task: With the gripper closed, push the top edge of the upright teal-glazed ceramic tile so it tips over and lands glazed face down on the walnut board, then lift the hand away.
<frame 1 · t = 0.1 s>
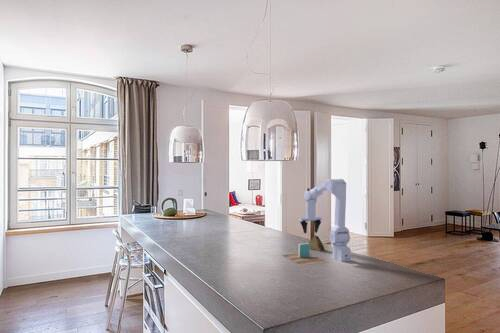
hand: (310, 232, 203), 10 cm above the worktop, tool pointing down, fingers open, 7 cm apart
rock: (315, 251, 199), on the worktop
board: (303, 260, 177), on the worktop
tile: (303, 256, 181), point 1 cm above the worktop, touching board
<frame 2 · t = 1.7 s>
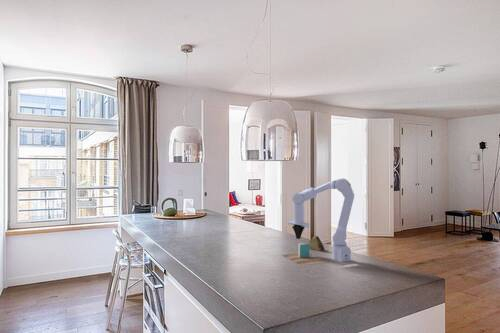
hand: (298, 238, 187), 10 cm above the worktop, tool pointing down, fingers closed
nothing on the worktop moved.
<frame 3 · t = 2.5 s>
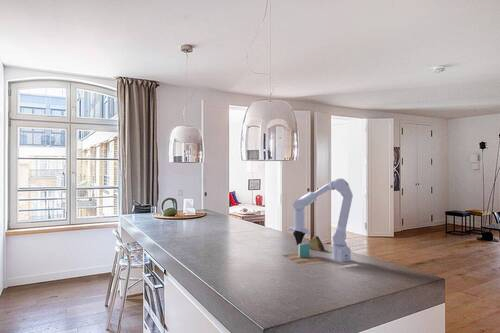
hand: (299, 244, 186), 6 cm above the worktop, tool pointing down, fingers closed
nothing on the worktop moved.
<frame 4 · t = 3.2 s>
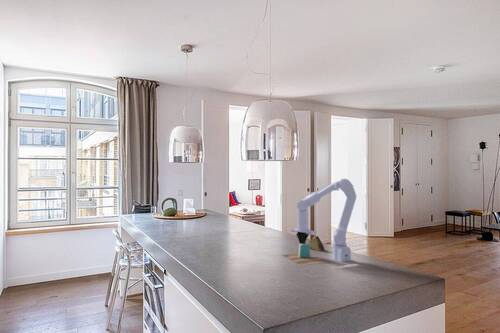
hand: (302, 246, 183), 6 cm above the worktop, tool pointing down, fingers closed
tile: (303, 256, 181), point 1 cm above the worktop, tilted 6°, touching board
everything else where it was.
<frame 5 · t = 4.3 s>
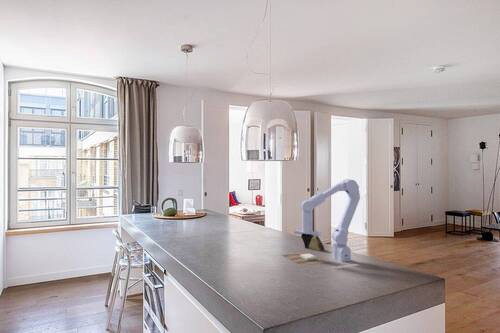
hand: (307, 248, 178), 6 cm above the worktop, tool pointing down, fingers closed
tile: (304, 255, 180), point 2 cm above the worktop, tilted 90°, touching board
everything else where it was.
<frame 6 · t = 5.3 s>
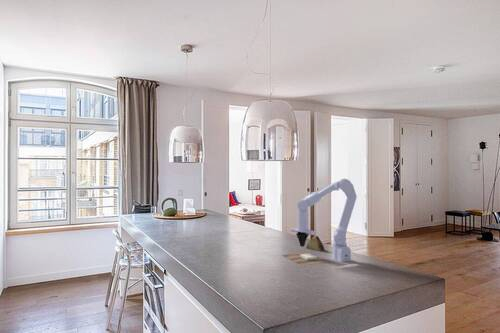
hand: (302, 246, 182), 7 cm above the worktop, tool pointing down, fingers closed
nothing on the worktop moved.
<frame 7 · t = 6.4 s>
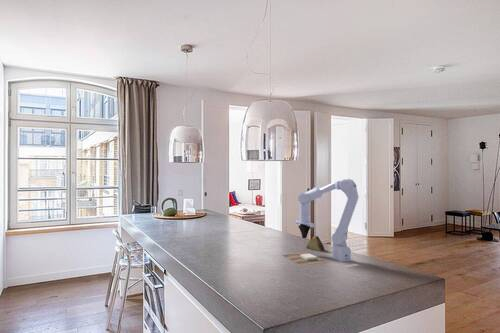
hand: (304, 238, 188), 10 cm above the worktop, tool pointing down, fingers closed
nothing on the worktop moved.
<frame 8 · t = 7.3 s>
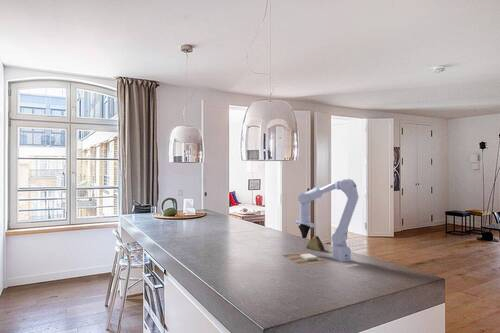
hand: (304, 238, 188), 10 cm above the worktop, tool pointing down, fingers closed
nothing on the worktop moved.
at the end: tile tilted 90°; tile inside the target area (2.4 cm from its centre), point 2.0 cm above the worktop; tile touching board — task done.
